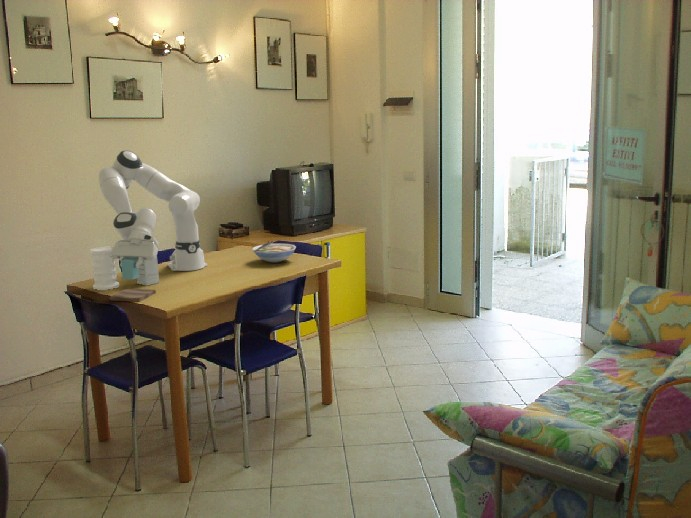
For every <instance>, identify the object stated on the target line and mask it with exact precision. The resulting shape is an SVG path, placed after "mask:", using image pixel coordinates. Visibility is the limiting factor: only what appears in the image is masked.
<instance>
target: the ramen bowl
mask: <svg viewBox="0 0 691 518" xmlns="http://www.w3.org/2000/svg"><path fill="white" fill-rule="evenodd" d="M296 248H297V246H296V245H295V244H292V243H291V244H290V243H273V241H270V240H268V241H266V242H265V243H264V244H261V245H256V246H254V247H252V251H253V253H254V254H255V255H256V256H257V258H259V259H260V260H262V261H266V262H267V263H270V264H271V263H275V264H276V263H281V262H282V261H284V260H287V259H289V258H291V256H292V255H293V254H294V252H295V250H296Z"/></svg>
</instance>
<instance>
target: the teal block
mask: <svg viewBox="0 0 691 518" xmlns="http://www.w3.org/2000/svg"><path fill="white" fill-rule="evenodd" d="M137 261H138V259H130V258H127V259H124V260H122V261H120V264H121V265H122V267H121V276H122V280H133V281H134V280H135V279H137V278H138V277H139V270H138V268H134V263H136V262H137Z"/></svg>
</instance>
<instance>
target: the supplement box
mask: <svg viewBox="0 0 691 518" xmlns="http://www.w3.org/2000/svg"><path fill="white" fill-rule="evenodd" d="M138 270H139V277H138V278H136V283H137V284H138V285H141V284H142V286H151V285H154V284H155V285H156V284H158V283H160V277H159V263H158V256H156V259H154V260H144V261H143V262H142V263H141V264H140V265H139V267H138Z"/></svg>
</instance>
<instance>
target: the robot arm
mask: <svg viewBox="0 0 691 518" xmlns="http://www.w3.org/2000/svg"><path fill="white" fill-rule="evenodd" d="M118 153H119V154H118V155H117V156H116V159H115V160H114V162H113V164H112V165H111V166H105V167H103V168H102V169H101V170H100V171H99V173H98V183H99V188H100V190H101V193H102V196H103V197H104V199H105V200H106V201H107V203H108V204H109V205H110V207H111V208H113V210H114V211H115V212H116V213H117V215H115V218H114V219H113V227H114V228H115V230H116V232H117V233H118V234H119V236H120V237H121V238H122V239H119V240H117V241H116V242H115V245H114V246H113V247H114V248H113V249H112V252H111V255H112V257H113V258H114V259H115V260H119V261H120V262H121V261H122V260H124V259H127V258H130V259H138V261H137V262H136V263H134V268H138V267H139V265H140V264H141V263H142V262H143V261H144V260H154V259H156V257H158V256H157V255H158V252H159V247H160V244H159V242H158V240H157V238H155V237H154V236H153V235H152V233H153V232H154V230H155V227H156V223H157V218H158V216H157V214H156V212H155V211H153V210H152V209H151V208H149V207H141V208H139V209H138V210H135V211H133V209H132V205H131V203H130V199H129V194H128V193H129V192H128V189H129V187H130V185H131V183H132V181H134V182H136V183H138V185H140V187H142V188H143V189H145V190H146V191H148V192H149V193H151V194H152V195H153V196H155V197H156V198H158V199H160V200H162V201H165V202H167V203H168V208H169V212H170V213H171V215H172V220H173V223H174V227H175V237H176V238H175V239H176V241H175V250H174V251H173V252H172V254H171V255H170V256H169V261H171V262H169V263H167V266H168V267H169V269H170V271H173V272H174V271H175V272H177V271H180V272H181V271H182V272H187V271H188V272H189V271H190V272H191V271H196V270H197V271H198V270H201V269H203V268H205V267H207V266H208V263H207V262H205V256H204V255H205V254H204V250H203V249H201V242H200V238H199V225H198V223H197V221H196V217H195V212H194V211H196V210H197V209H198V208H199V206H200V204H201V196H200V195H199V194H198V193H197V192H196V191H194V190H192V189H189V188H187V187H185V186H184V185H182V184H180V183H178V182H177V181H174V180H173V179H171V178H170V177H168V176H166V175H165V174H163V172H160V171H159V170H158V169H156V168H154V167H153V166H150V165H148V164H147V163H144V162H142V160H141V159H140V158H139V156H138V155H137V154H136V153H135V152H133V151H131V150H121V151H120V152H118ZM119 266H120V268H122V265H121V263H120V264H119Z"/></svg>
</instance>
